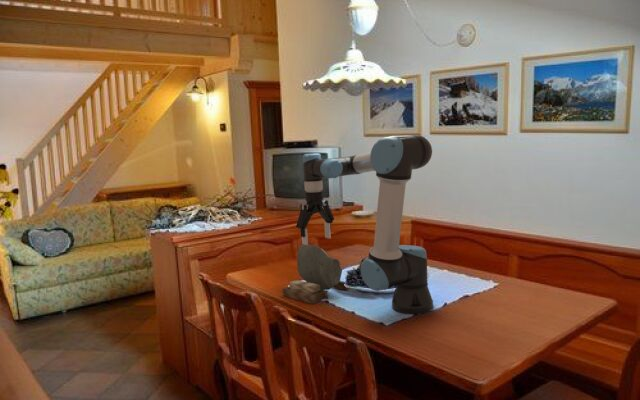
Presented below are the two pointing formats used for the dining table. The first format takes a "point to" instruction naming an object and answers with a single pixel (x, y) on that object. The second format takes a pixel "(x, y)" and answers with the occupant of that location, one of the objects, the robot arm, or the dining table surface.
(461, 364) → the dining table surface
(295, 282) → the offcut stack
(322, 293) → the walnut rack
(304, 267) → the rock
